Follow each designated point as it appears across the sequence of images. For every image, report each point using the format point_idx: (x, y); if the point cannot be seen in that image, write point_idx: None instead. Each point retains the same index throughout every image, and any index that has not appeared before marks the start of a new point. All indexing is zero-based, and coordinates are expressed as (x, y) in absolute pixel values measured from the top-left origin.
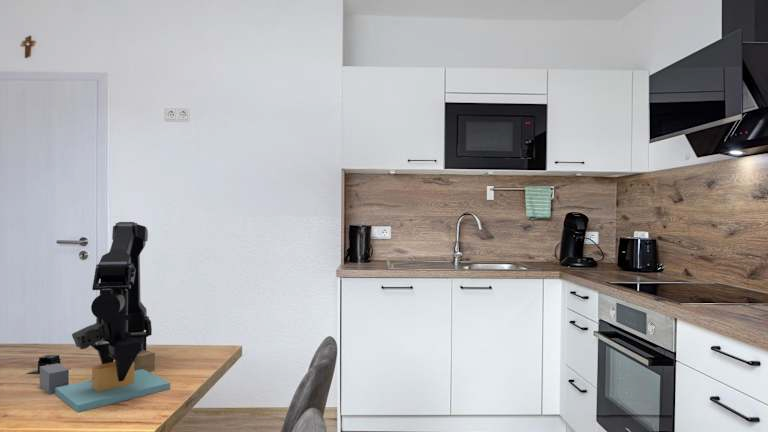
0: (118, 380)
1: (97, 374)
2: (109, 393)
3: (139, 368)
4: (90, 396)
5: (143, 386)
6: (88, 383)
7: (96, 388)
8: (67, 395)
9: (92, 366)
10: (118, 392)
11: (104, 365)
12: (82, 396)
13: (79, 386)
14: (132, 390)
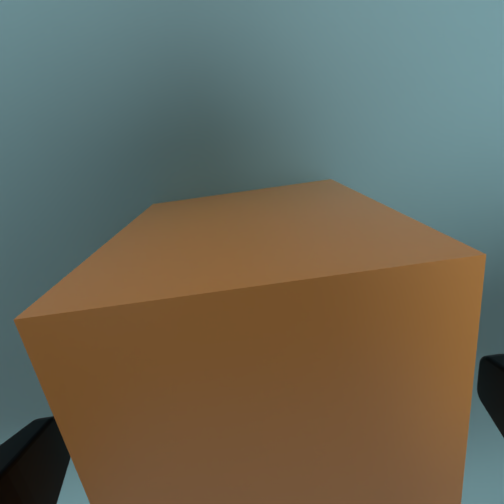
0: (36, 421)
1: (109, 262)
2: (22, 278)
3: None
4: (14, 109)
5: (84, 496)
6: (491, 172)
7: (195, 201)
8: None
9: (459, 255)
10: (15, 342)
11: (321, 466)
12: (53, 30)
13: (459, 70)
14: (18, 429)
